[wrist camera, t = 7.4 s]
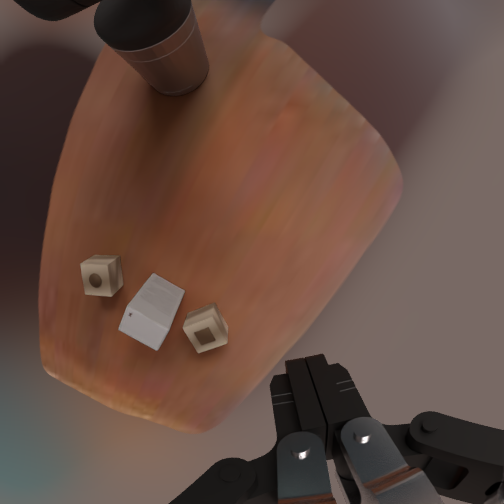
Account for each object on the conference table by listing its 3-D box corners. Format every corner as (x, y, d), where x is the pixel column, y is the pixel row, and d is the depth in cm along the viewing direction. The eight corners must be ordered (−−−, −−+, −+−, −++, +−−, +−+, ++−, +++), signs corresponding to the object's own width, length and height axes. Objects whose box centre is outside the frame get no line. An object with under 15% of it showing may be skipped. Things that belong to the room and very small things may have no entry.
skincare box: (143, 292, 43) (116, 329, 32) (153, 271, 42) (126, 304, 31) (175, 310, 44) (157, 352, 33) (186, 290, 43) (170, 329, 32)
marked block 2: (187, 312, 44) (182, 329, 39) (214, 302, 44) (212, 317, 39) (201, 336, 46) (198, 354, 41) (228, 326, 45) (227, 344, 40)
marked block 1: (94, 254, 41) (79, 264, 36) (120, 255, 41) (106, 265, 36) (98, 282, 42) (84, 295, 37) (123, 284, 43) (111, 297, 38)
